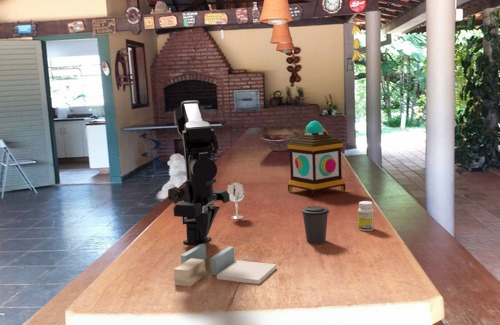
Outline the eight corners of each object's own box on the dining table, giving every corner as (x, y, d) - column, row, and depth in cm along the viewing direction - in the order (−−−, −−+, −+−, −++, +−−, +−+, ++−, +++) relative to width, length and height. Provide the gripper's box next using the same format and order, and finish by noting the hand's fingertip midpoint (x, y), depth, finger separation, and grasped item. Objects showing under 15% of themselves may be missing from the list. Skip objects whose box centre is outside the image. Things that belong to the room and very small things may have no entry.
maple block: (191, 273, 131) (190, 258, 130) (205, 275, 129) (204, 259, 129) (174, 285, 124) (173, 269, 123) (189, 287, 122) (188, 270, 122)
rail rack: (201, 258, 142) (200, 243, 141) (234, 261, 138) (233, 246, 137) (181, 270, 133) (180, 255, 132) (216, 274, 129) (215, 259, 128)
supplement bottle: (364, 226, 165) (363, 200, 164) (377, 228, 162) (376, 201, 160) (355, 229, 162) (354, 203, 160) (368, 232, 158) (368, 204, 157)
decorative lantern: (350, 191, 217) (349, 119, 213) (314, 199, 206) (311, 123, 202) (318, 185, 234) (316, 118, 229) (283, 192, 223) (280, 121, 218)
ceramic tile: (237, 264, 136) (237, 260, 136) (276, 268, 131) (276, 264, 131) (216, 278, 126) (216, 274, 126) (258, 284, 121) (258, 280, 121)
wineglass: (225, 218, 184) (223, 184, 182) (237, 214, 188) (235, 181, 186) (237, 220, 180) (235, 186, 178) (248, 216, 184) (247, 183, 182)
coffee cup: (301, 237, 156) (300, 204, 155) (328, 236, 156) (327, 203, 154) (303, 245, 148) (301, 211, 147) (331, 244, 148) (330, 210, 146)
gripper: (192, 168, 142) (196, 224, 145) (152, 181, 126) (157, 244, 128) (228, 169, 138) (232, 227, 140) (192, 182, 121) (196, 248, 123)
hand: (204, 236), depth 133 cm, fingers closed
